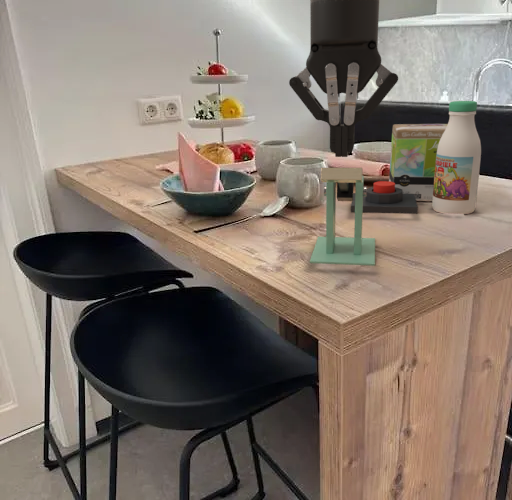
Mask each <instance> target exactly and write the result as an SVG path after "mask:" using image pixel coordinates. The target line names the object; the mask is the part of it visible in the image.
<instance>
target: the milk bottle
mask: <svg viewBox="0 0 512 500" xmlns="http://www.w3.org/2000/svg"><path fill="white" fill-rule="evenodd" d="M477 109H478V101H476V100H475V101H474V100H456V101H455V100H454V101H450V102H449V104H448V115H449V119H448V122H447V124H448V125H447V127H446V129H445V131H444V133H443V135H442V137H441V139H440V141H439V144H438V148H437V155H436V164H435V175H434V188H433V201H431V207H432V210H433V211H434V212H437V213H440V214H453V215H454V214H456V215H458V214H459V215H460V214H461V215H469V214H472V213H474V212H475V210H476V205H477V198H478V197H477V196H478V189H479V179H480V169H481V168H480V167H481V158H482V156H481V155H482V144H481V138H480V135H479V132H478V131H477V130H478V129H477V127H476V121H475V115H477Z"/></svg>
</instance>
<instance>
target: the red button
mask: <svg viewBox="0 0 512 500" xmlns="http://www.w3.org/2000/svg"><path fill="white" fill-rule="evenodd" d="M372 187H373V192H376V193H394V192H395V183H394V182H389V180H379V181H374V182H373V186H372Z"/></svg>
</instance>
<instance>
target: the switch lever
mask: <svg viewBox="0 0 512 500" xmlns="http://www.w3.org/2000/svg"><path fill="white" fill-rule="evenodd" d="M363 172H364V171H363V167H321V168H320V181H321V183H326V182H336V200H337V202H352V201H353V193H354V186H355V185H354V184H356V183H362V176H363Z"/></svg>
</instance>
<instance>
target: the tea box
mask: <svg viewBox="0 0 512 500" xmlns="http://www.w3.org/2000/svg"><path fill="white" fill-rule="evenodd" d="M447 125H448V123H403V124H401V123H399V124H397V123H396V124H392V131H391V144H390V159H389V173H388V181H389V182H394V183H395V187H397V188H400V189H402V190H403V194H414V195H415V199H416V202H432V201H433V188H434V175H435V164H436V155H437V148H438V144H439V141H440V139H441V137H442V135H443V133H444V131H445V129H446V127H447Z"/></svg>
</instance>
